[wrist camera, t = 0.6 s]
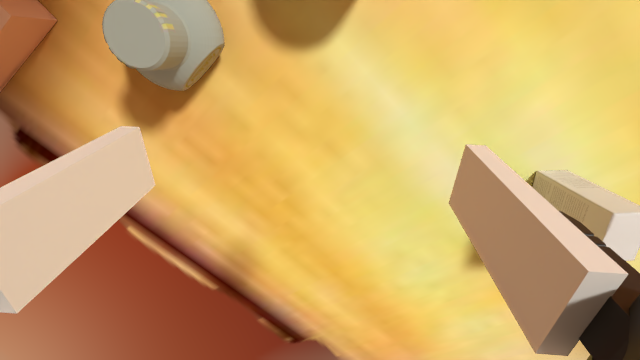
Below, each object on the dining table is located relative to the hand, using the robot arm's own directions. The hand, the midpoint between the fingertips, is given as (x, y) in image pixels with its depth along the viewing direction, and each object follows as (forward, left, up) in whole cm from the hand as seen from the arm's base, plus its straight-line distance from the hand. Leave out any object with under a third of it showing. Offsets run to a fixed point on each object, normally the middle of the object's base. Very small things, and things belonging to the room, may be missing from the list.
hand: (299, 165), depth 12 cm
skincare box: (+15, +31, -27) cm, 44 cm away
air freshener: (-7, -15, -27) cm, 32 cm away
